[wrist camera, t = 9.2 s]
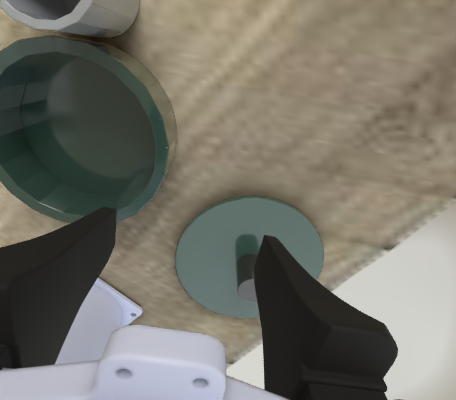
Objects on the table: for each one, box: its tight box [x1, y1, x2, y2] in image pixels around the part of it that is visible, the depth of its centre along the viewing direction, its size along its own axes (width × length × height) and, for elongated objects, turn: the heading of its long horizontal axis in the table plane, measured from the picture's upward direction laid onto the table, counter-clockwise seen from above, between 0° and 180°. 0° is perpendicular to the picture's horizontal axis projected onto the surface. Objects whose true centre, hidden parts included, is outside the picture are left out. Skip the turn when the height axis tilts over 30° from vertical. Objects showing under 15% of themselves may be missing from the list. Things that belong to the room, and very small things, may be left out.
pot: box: [0, 35, 177, 223], centre depth 20 cm, size 12×12×4 cm
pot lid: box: [175, 196, 324, 318], centre depth 25 cm, size 13×13×4 cm
